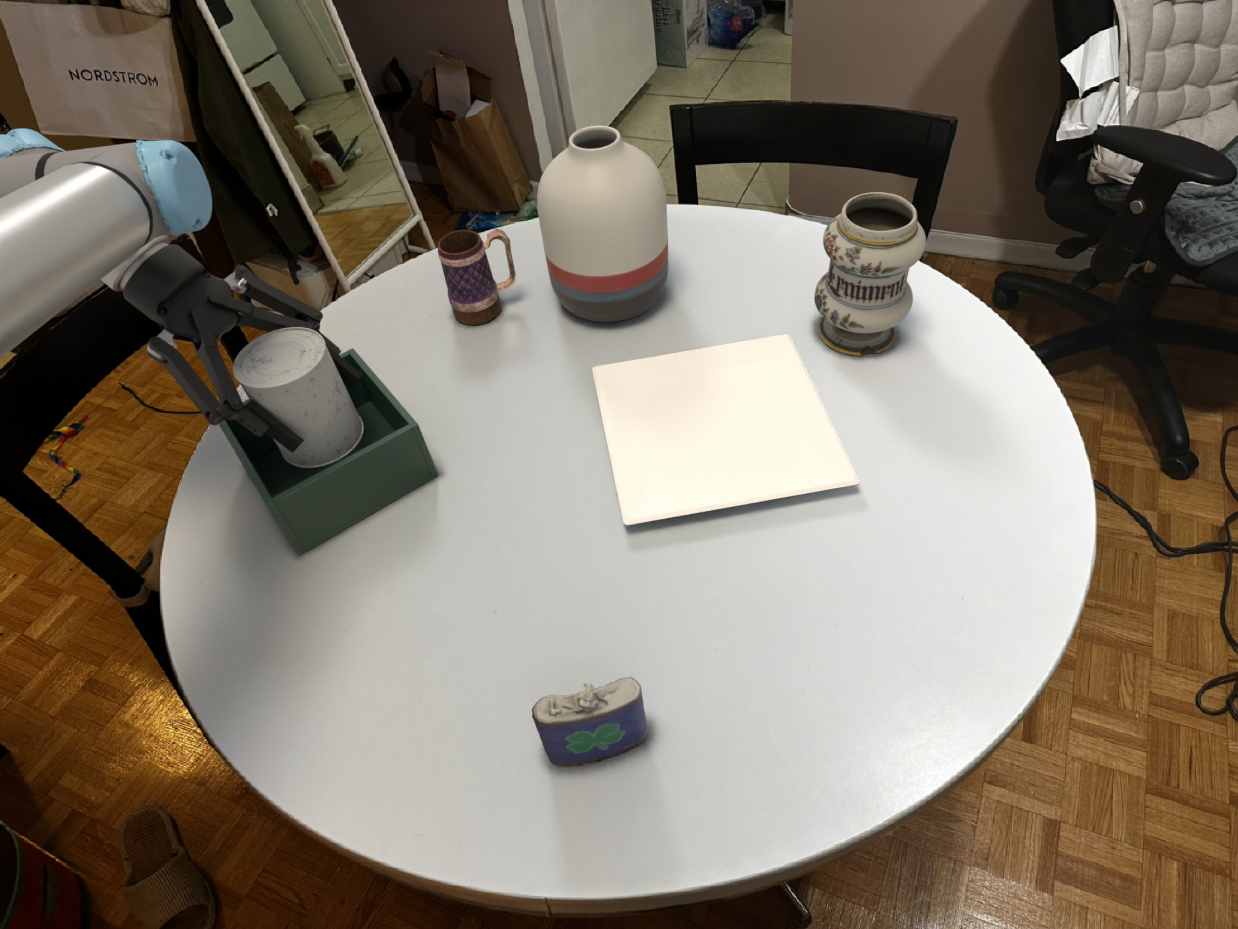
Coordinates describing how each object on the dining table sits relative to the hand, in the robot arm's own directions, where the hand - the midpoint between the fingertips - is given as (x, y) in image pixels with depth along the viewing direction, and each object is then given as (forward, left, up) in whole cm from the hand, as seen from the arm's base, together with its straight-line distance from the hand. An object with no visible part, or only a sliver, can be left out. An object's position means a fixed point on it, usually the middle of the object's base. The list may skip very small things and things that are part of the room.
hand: (328, 413), depth 86 cm
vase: (+43, +8, -11) cm, 46 cm away
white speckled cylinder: (-2, +3, -5) cm, 6 cm away
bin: (-2, +3, -11) cm, 11 cm away
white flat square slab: (+36, -22, -11) cm, 44 cm away
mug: (+28, +18, -11) cm, 35 cm away
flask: (+3, -44, -11) cm, 46 cm away
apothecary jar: (+62, -21, -11) cm, 67 cm away
